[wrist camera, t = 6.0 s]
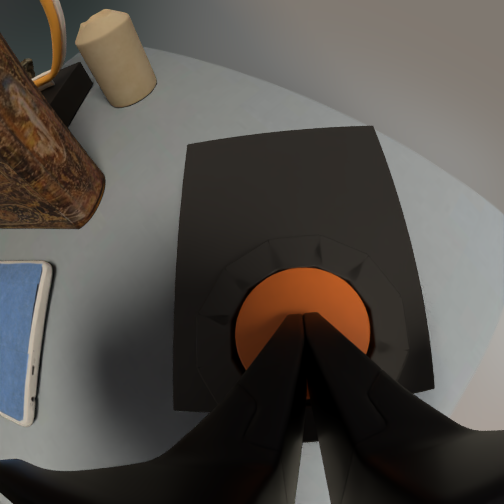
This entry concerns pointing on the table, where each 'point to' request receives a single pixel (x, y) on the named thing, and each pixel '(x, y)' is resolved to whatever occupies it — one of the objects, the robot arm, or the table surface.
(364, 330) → the power button
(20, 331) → the tablet
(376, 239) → the button base
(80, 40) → the candle
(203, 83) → the table surface
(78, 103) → the lamp
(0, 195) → the book
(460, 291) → the table surface
